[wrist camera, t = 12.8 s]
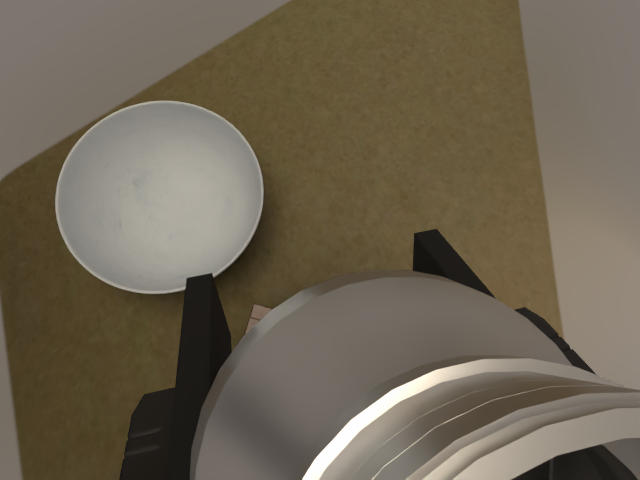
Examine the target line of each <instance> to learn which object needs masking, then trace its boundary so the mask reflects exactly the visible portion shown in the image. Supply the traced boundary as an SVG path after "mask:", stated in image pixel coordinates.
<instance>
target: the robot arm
mask: <svg viewBox="0 0 640 480" xmlns="http://www.w3.org/2000/svg"><path fill="white" fill-rule="evenodd" d="M413 271H416V272H421V273H426V274H431V275H437V276H442V277H445V278H447V279H450V280H452V281H455V282H457V283H460V284H462V285H465V286H468V287H470V288H473V289H475V290H478V291H480V292H482V293H484V294H487V295H489V296H491V297H493V298H495V297H494V296H493V295H492V293H491V292H490V291H489V290H488V289H487V288H486V286H485V285H484V284H483V283H482V282H481V281H480V279H479V278H478V277H477V276H476V275H475V273H474V272H473V271H472V270H471V269H470V268H469V266H468V265H467V264H466V263H465V262H464V261H463V259H462V258H461V257H460V256H459V255H458V254H457V252H456V251H455V250H454V249H453V248H452V247H451V245H450V244H449V243H448V242H447V241H446V239H445V238H444V237H443V236H442V235H441V234H440V232H439V231H438V230H437V229H434V230H429V231H424V232H419V233H414V252H413ZM495 299H496V298H495ZM515 311H516V312H518V313H519V314H521V315H523V316H524V317H526V318H527V319H528V320H530V321H531V322H532V323H533V324H534V325H535V326H536V327H537V328H538V329H539V330H541V331H542V332H543V333H544V334H545V335H546V336H547V337H548V338H549V339H550V340H552V341H553V342H554V343H555V344H556V345H557V346H558V348H559V349H560V350H561V352H562V353H563V354H564V355H565V357H566V358H567V359H568V361H569V362H570V363H571V364H572V366H574V367H578V368H580V369H583V370H585V371H588V372H590V373H593V374H595V373H594V372H593V370H592V369H591V368H590V367H589V366H588V365H587V364H586V363H585V362H584V361H583V360H582V359H581V358H580V357H579V356H578V355H577V353H576V352H575V351H574V350H571V349H570V346H569V345H568V344H567V343H566V342H565V341H564V340H563V339H562V338H561V337H559V336H558V333H557V332H556V331H555V330H554V329H553V328H552V327H551V326H550V325H549V324H548V323H547V322H546V321H545V319H543V318H542V317H540V316H538V315H537V314H535V313H533V312H532V311H530V310H528V309H527V308H525V307H524V308H520V309H516V310H515ZM231 353H232V351H231V335H230V331H229V328H228V325H227V321H226V318H225V315H224V311H223V308H222V305H221V301H220V298H219V295H218V291H217V288H216V285H215V281H214V278H213V275H212V273H209V274H204V275H199V276H194V277H189V278H186V288H185V298H184V308H183V317H182V327H181V337H180V347H179V356H178V366H177V376H176V386H175V388H170V389H166V390H161V391H157V392H153V393H148V394H144V396H143V397H142V399H141V401H140V402H139V404H138V406H137V407H136V409H135V411H134V412H133V414H132V417H131V422H130V427H129V432H128V441H127V443H126V448H125V453H124V455H125V458H124V459H123V463H122V468H121V474H120V479H119V480H190V465H191V449H192V445H193V441H194V437H195V433H196V429H197V425H198V421H199V417H200V413H201V409H202V406H203V404H204V402H205V400H206V397H207V395H208V393H209V391H210V389H211V387H212V384H213V382H214V380H215V378H216V376H217V374H218V371H219V370H220V368H221V367H222V365H223V364H224V363H225V361H226V360H227V358H228V357H229V356H230V354H231ZM595 375H596V374H595Z"/></svg>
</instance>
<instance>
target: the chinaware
mask: <svg viewBox="0 0 640 480" xmlns="http://www.w3.org/2000/svg"><path fill="white" fill-rule="evenodd" d="M263 199H264V187H263V178H262V173H261V169H260V166H259V163H258V160H257V158H256V156H255V153H254V151H253V150H252V148H251V146H250V145H249V143H248V142H247V140H246V139H245V138H244V136H243V135H242V134H241V133H240V132H239V131H238V130H237V129H236V128H235V127H234V126H233V125H232V124H231V123H229V122H228V121H227V120H225V119H224V118H222V117H221V116H219V115H217V114H216V113H214V112H212V111H210V110H208V109H205V108H203V107H200V106H197V105H193V104H189V103H184V102H177V101H152V102H145V103H140V104H136V105H132V106H129V107H126V108H124V109H121V110H119V111H117V112H114V113H113V114H111V115H109V116H107V117H105V118H104V119H102V120H101V121H99V122H98V123H97V124H95V125H94V126H93V127H92V128H90V129H89V130H88V131H87V132H86V133H85V134H84V135H83V136H82V137H81V138H80V139H79V141H78V142H77V143H76V144H75V146H74V147H73V148H72V150H71V151H70V153H69V155H68V156H67V158H66V160H65V162H64V164H63V167H62V169H61V172H60V175H59V178H58V183H57V188H56V197H55V208H56V217H57V222H58V226H59V229H60V232H61V235H62V237H63V239H64V241H65V243H66V245H67V247H68V249H69V250H70V252H71V253H72V254H73V256H74V257H75V258H76V259H77V261H78V262H79V263H80V264H81V265H82V266H83V267H84V268H85V269H86V270H88V271H89V272H90V273H91V274H93V275H94V276H96V277H97V278H99V279H100V280H102V281H104V282H106V283H108V284H110V285H112V286H115V287H117V288H120V289H123V290H127V291H131V292H136V293H144V294H166V293H174V292H179V291H183V290H185V288H186V278H189V277H194V276H199V275H204V274H209V273H212V275H213V278H214V277H216V276H218V275H219V274H220V273H222V272H223V271H224V270H226V269H227V268H228V267H229V266H230V265H232V264H233V263H234V262H235V261H236V260H237V259H238V257H239V256H240V255H241V254H242V253H243V251H244V250H245V249H246V247H247V246H248V244H249V243H250V241H251V239H252V237H253V235H254V233H255V231H256V229H257V226H258V223H259V220H260V217H261V213H262V208H263Z"/></svg>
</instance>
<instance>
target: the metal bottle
mask: <svg viewBox="0 0 640 480" xmlns="http://www.w3.org/2000/svg"><path fill="white" fill-rule="evenodd" d="M190 480H640V390H635V389H629V388H626V387H624V386H622V385H620V384H618V383H616V382H613V381H611V380H608V379H606V378H603V377H600V376H598V375H595V374H593V373H590V372H588V371H585V370H583V369H580V368H578V367H574V366H572V364H571V363H570V362H569V361H568V359H567V358H566V357H565V355H564V354H563V353H562V352H561V350H560V349H559V348H558V346H557V345H556V344H555V343H554V342H553V341H552V340H550V339H549V338H548V337H547V336H546V335H545V334H544V333H543V332H542V331H541V330H539V329H538V328H537V327H536V326H535V325H534V324H533V323H532V322H531V321H530V320H528V319H527V318H526V317H524V316H523V315H521V314H519V313H518V312H516V311H515V310H513V309H511V308H510V307H508V306H507V305H505V304H503V303H502V302H500V301H498V300H497V299H495V298H493V297H491V296H489V295H487V294H484V293H482V292H480V291H478V290H475V289H473V288H470V287H468V286H465V285H462V284H460V283H457V282H455V281H452V280H450V279H447V278H445V277H442V276H437V275H431V274H426V273H421V272H416V271H410V270H368V271H363V272H358V273H353V274H348V275H343V276H338V277H334V278H332V279H329V280H327V281H324V282H322V283H319V284H317V285H314V286H312V287H309V288H307V289H304V290H302V291H300V292H299V293H297V294H296V295H294V296H293V297H291V298H289V299H288V300H286V301H285V302H283V303H282V304H280V305H279V306H277V307H276V308H274V309H272V310H271V311H270V312H269V313H268V314H266V315H265V316H264V317H263V318H262V319H261V320H260V321H259V322H258V323H257V324H256V325H255V326H254V327H253V328H252V329H251V330H250V331H249V332H248V333H247V334H246V335H245V336H244V337H242V339H241V340H240V342H239V343H238V344H237V346H236V347H235V349H234V350H233V351H232V353H231V354H230V356H229V357H228V358H227V360H226V361H225V363H224V364H223V365H222V367H221V368H220V370H219V371H218V374H217V376H216V378H215V380H214V382H213V384H212V387H211V389H210V391H209V393H208V395H207V397H206V400H205V402H204V404H203V406H202V409H201V413H200V417H199V421H198V425H197V429H196V433H195V437H194V441H193V445H192V449H191V465H190Z"/></svg>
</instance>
